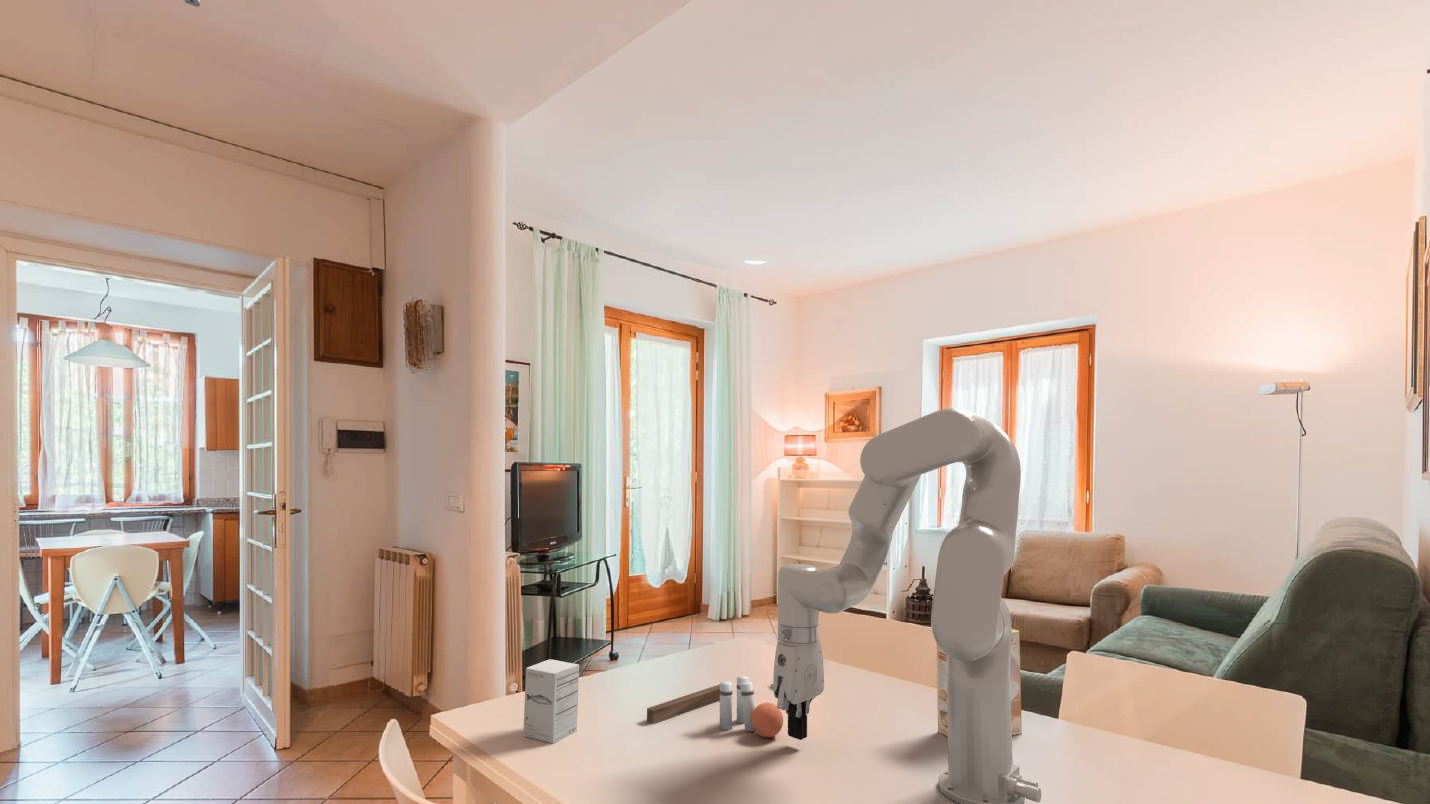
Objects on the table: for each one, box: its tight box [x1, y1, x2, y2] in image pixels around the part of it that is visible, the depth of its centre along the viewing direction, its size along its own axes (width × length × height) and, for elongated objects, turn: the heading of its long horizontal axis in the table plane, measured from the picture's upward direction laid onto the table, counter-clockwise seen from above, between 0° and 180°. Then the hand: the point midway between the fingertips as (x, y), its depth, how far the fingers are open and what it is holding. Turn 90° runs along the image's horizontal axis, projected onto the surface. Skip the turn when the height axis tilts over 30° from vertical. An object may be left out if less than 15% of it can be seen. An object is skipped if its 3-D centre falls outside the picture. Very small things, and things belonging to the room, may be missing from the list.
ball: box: [752, 702, 784, 738], centre depth 130 cm, size 6×6×6 cm
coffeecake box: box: [936, 628, 1023, 738], centre depth 133 cm, size 15×7×20 cm, turn 112°
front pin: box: [740, 681, 756, 732], centre depth 133 cm, size 2×2×8 cm
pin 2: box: [736, 675, 750, 724], centre depth 138 cm, size 2×2×8 cm
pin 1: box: [719, 680, 733, 731], centre depth 134 cm, size 2×2×8 cm
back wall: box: [646, 683, 720, 725], centre depth 144 cm, size 2×22×2 cm, turn 137°
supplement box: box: [522, 658, 580, 745], centre depth 131 cm, size 7×7×13 cm
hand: (797, 736), depth 125 cm, fingers closed
